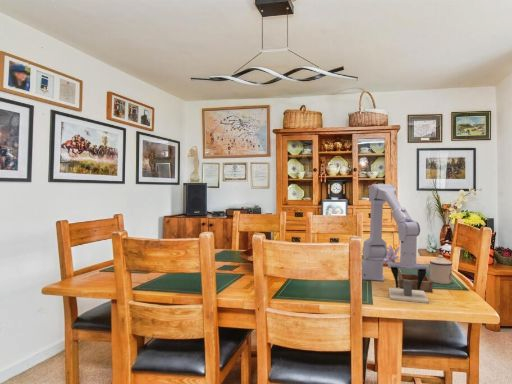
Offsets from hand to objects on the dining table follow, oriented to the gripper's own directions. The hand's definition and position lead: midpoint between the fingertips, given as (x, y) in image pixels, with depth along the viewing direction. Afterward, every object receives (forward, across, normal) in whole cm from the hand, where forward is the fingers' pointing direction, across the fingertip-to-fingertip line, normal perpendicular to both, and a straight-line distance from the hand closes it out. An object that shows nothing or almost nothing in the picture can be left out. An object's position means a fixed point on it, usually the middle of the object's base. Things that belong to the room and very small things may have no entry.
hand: (407, 287), depth 138 cm
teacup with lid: (+3, +16, +30) cm, 34 cm away
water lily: (+4, -5, +55) cm, 55 cm away
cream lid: (+3, 0, 0) cm, 3 cm away
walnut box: (+3, +4, +15) cm, 16 cm away
